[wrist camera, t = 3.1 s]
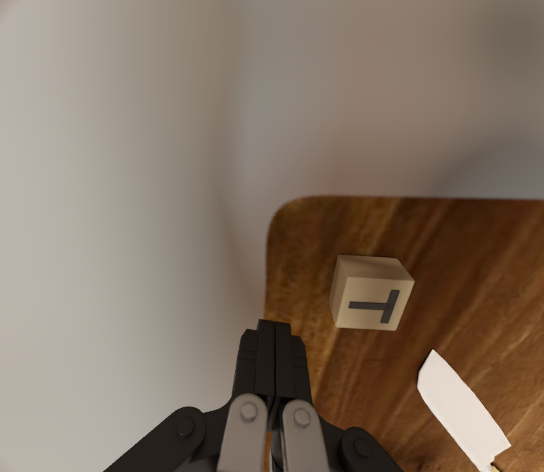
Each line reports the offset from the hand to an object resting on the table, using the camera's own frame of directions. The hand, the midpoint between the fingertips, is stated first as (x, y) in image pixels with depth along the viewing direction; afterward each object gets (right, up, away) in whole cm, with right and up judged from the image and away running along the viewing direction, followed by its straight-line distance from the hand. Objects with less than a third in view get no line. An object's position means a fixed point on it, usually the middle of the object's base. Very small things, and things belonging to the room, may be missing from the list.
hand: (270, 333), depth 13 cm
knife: (+22, -17, +15) cm, 32 cm away
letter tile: (+6, +2, +6) cm, 9 cm away
